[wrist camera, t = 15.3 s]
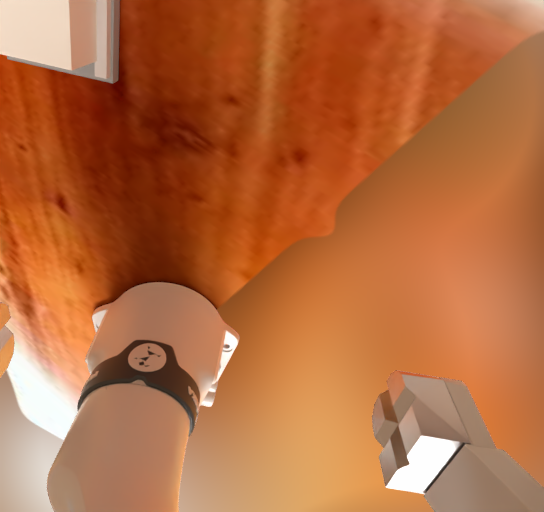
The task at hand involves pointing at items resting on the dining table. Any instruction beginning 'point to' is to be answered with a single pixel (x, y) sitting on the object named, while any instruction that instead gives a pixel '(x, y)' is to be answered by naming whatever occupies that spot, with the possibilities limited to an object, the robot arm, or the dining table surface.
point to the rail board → (63, 35)
